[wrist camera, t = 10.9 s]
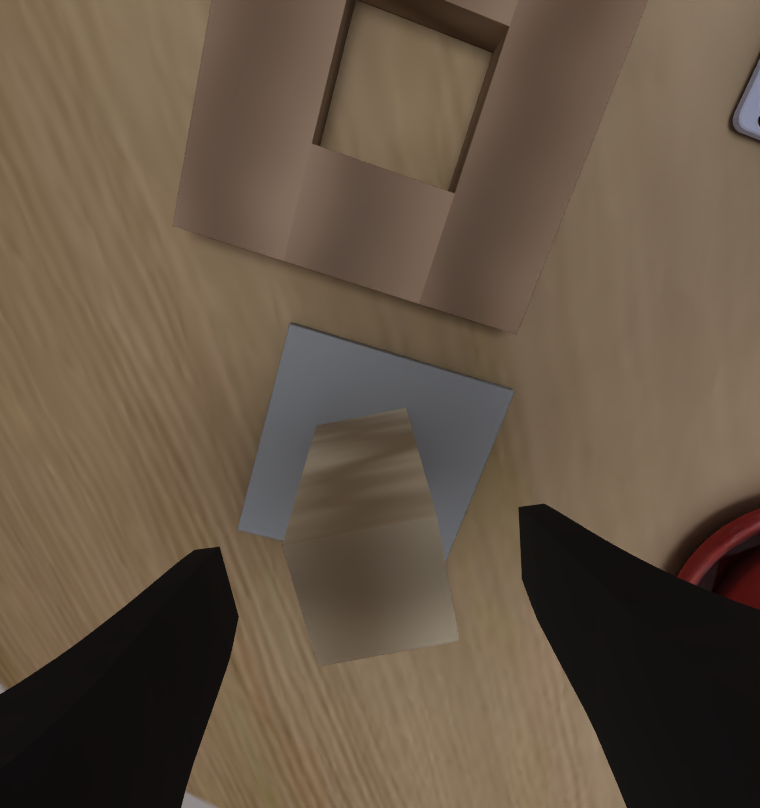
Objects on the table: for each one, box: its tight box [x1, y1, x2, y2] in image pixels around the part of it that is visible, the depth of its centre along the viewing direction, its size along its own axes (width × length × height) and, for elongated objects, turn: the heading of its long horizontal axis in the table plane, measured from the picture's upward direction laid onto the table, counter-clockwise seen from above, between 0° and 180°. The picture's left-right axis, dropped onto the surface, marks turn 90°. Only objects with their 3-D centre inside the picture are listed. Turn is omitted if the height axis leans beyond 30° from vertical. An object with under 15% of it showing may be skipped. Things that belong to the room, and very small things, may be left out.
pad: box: [238, 322, 514, 562], centre depth 21 cm, size 10×10×1 cm
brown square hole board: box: [173, 0, 648, 335], centre depth 16 cm, size 13×13×2 cm
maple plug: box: [282, 408, 459, 667], centre depth 17 cm, size 4×4×9 cm
